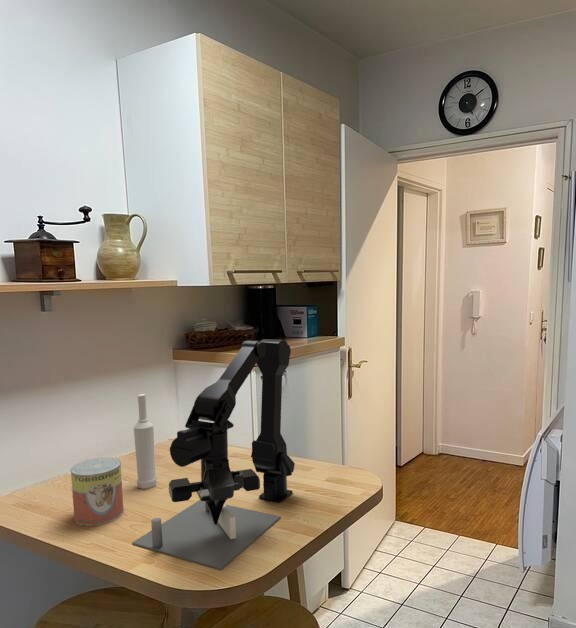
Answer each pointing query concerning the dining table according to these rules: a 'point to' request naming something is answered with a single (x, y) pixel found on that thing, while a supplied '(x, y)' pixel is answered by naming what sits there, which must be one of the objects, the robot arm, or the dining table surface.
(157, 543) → the plate with peg
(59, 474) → the dining table surface
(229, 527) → the gate
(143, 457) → the bottle
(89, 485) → the canned food
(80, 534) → the dining table surface
